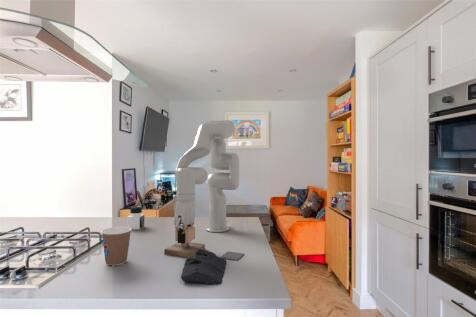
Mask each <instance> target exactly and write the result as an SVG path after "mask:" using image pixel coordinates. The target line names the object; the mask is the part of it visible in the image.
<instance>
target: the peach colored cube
mask: <svg viewBox="0 0 476 317" xmlns="http://www.w3.org/2000/svg"><path fill="white" fill-rule="evenodd" d="M180 228H181V229H183V227H180ZM174 229H175V231H174V232H175V233H174V234H175V235H174V240H175V242H178V233H177V230H176V228H174ZM184 233H185V242H192V241H194V240H195V239H196V226H193V227H191V226H185V232H184Z"/></svg>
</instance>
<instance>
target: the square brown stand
mask: <svg viewBox="0 0 476 317" xmlns="http://www.w3.org/2000/svg"><path fill="white" fill-rule="evenodd" d="M199 249H203V250H205V249H206V244H205V243H199V242H198V243H196V242H192V241H190V242H185V243H184V244H182V243H178V242H176V243H175V244H172V245H170V246H168V247H166V248H164V250H163V252H164V255H167V256H168V255H169V256H173V257H174V256H175V257H181V258H186V259H190V258H194V257H195V256H196V253H197V252H198V250H199Z"/></svg>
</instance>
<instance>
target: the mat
mask: <svg viewBox="0 0 476 317" xmlns="http://www.w3.org/2000/svg"><path fill="white" fill-rule="evenodd" d="M244 255H245V253H243V252H237V251H231V250H228V251H226V252H225V253H223V254H222V255H221V256H220V258H223V259H225V260H230V261H236V262H237V261H239V260H240V259H241V258H242V257H243V256H244Z"/></svg>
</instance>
